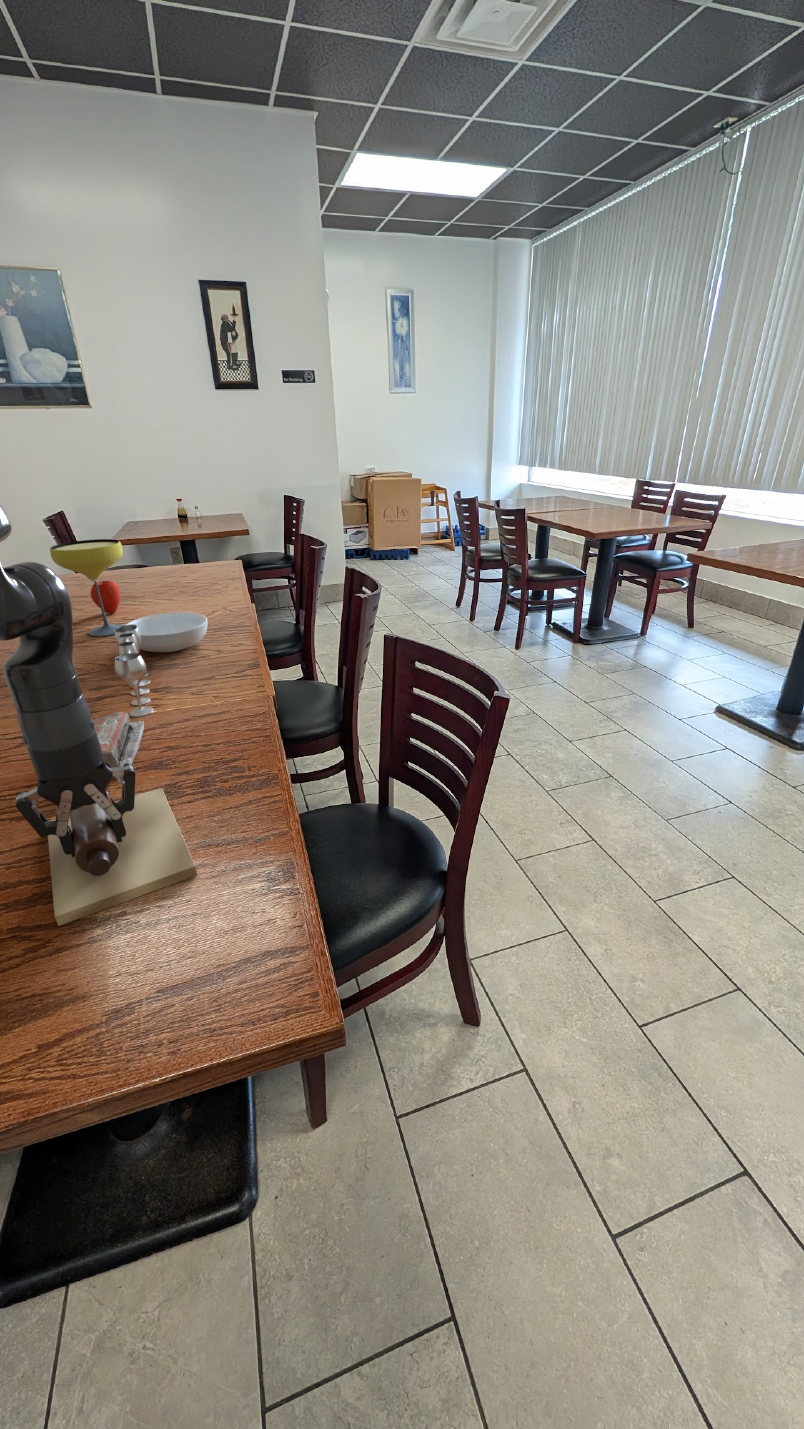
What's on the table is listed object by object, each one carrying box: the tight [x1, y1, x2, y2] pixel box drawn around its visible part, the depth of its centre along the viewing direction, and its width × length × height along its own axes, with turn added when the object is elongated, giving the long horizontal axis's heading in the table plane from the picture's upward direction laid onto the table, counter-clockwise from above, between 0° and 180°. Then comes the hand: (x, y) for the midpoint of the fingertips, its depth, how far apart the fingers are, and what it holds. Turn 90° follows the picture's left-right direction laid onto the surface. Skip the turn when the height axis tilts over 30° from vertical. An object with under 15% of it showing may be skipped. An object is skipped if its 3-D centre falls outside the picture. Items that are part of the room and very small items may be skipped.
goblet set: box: [114, 624, 154, 718], centre depth 127 cm, size 28×6×13 cm, turn 23°
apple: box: [90, 580, 121, 614], centre depth 188 cm, size 9×8×11 cm
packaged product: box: [93, 711, 145, 768], centre depth 104 cm, size 18×5×10 cm
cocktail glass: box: [49, 538, 124, 638], centre depth 168 cm, size 18×18×25 cm
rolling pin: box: [70, 803, 119, 876], centre depth 77 cm, size 16×5×5 cm, turn 31°
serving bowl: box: [125, 611, 208, 653], centre depth 157 cm, size 21×21×7 cm
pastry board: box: [47, 787, 198, 927], centre depth 80 cm, size 16×22×2 cm
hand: (97, 845), depth 78 cm, fingers closed on rolling pin, 5 cm apart
